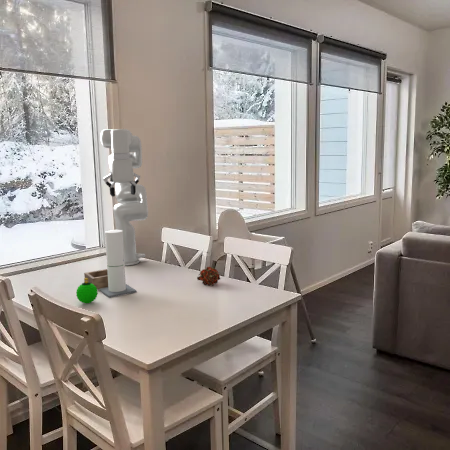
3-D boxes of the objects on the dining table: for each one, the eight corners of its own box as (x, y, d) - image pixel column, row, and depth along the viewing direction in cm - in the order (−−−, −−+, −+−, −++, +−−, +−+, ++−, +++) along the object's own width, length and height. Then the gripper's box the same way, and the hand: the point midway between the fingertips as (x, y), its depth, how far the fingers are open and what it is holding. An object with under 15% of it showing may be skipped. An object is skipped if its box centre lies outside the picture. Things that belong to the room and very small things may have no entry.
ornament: (76, 307, 183) (74, 282, 181) (77, 300, 190) (75, 276, 189) (98, 305, 185) (96, 280, 183) (98, 298, 192) (96, 274, 191)
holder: (109, 279, 220) (108, 268, 219) (118, 285, 210) (118, 274, 209) (85, 283, 213) (84, 272, 212) (93, 289, 204) (92, 278, 203)
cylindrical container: (128, 286, 204) (124, 229, 200) (123, 292, 198) (119, 232, 193) (112, 286, 205) (108, 229, 201) (106, 291, 198) (102, 232, 194)
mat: (125, 285, 210) (125, 283, 209) (136, 292, 200) (136, 290, 200) (99, 290, 203) (98, 288, 203) (108, 297, 193) (108, 295, 193)
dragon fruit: (216, 291, 203) (201, 289, 213) (228, 277, 206) (213, 275, 216) (204, 278, 200) (190, 276, 210) (216, 263, 203) (202, 262, 213)
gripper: (135, 156, 221) (137, 193, 224) (99, 157, 211) (101, 196, 214) (142, 156, 215) (144, 194, 218) (105, 158, 205) (107, 197, 208)
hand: (123, 195), depth 216 cm, fingers open, 9 cm apart
